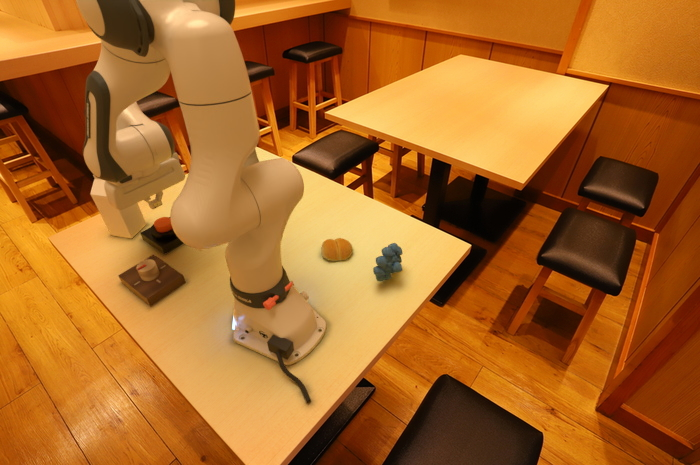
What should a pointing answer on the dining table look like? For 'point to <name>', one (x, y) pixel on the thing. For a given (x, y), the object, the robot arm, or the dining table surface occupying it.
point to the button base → (161, 239)
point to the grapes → (388, 262)
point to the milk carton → (117, 213)
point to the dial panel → (153, 282)
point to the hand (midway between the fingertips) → (156, 206)
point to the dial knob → (148, 270)
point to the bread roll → (336, 249)
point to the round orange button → (163, 224)
